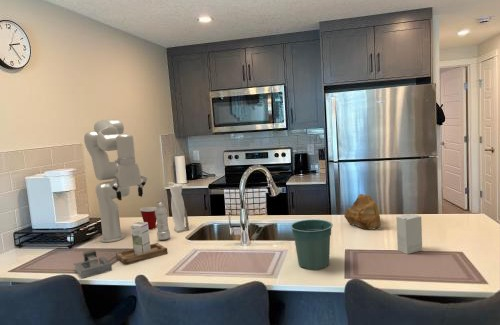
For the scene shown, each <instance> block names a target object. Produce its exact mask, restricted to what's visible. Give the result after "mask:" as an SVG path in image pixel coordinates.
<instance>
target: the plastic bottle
mask: <svg viewBox="0 0 500 325" xmlns="http://www.w3.org/2000/svg"><path fill="white" fill-rule="evenodd" d="M156 206H157V209H156V211H155V216H156V227H157V231H156V232H157V233H156V236H157V239H159V241H166V240H168V239H169V240H170V237H171V231H170V228H169V222H168V221H169V220H168V218H169V216H168V212H169V211H168V210H167V208H166V207H165V201H158V202H156Z"/></svg>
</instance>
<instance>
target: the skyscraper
mask: <svg viewBox="0 0 500 325" xmlns="http://www.w3.org/2000/svg"><path fill="white" fill-rule="evenodd" d="M170 184H173V185H170ZM168 187H169V190H170V194H171V199H170V200H171V201H170V203H171V204H170V205H171V208H170V209H171V215H172V220H173V223H174V228H173V230H174V232H176V233H183V232H188V231H190V226H189V220H188V219H189V218H188V212H187V208H185V202H184V198H183V195H182V191H183V184H182V183H175V182H168Z"/></svg>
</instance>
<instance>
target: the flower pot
mask: <svg viewBox="0 0 500 325" xmlns="http://www.w3.org/2000/svg"><path fill="white" fill-rule="evenodd" d="M333 225H334V224H333V223H332V222H331V221H328V220H325V219H314V218H313V219H312V218H311V219H301V220H298V221H295V222H293V223H291V224H290V229H291V230H292V231H291V232H292V236H293V239H294V244H295V250H296V256H297V263H298V266H299V267H300V268H302V269H304V268H305V269H307V270H321V269H325V268H326V267H328V266H329V265H330V253H331V252H330V248H331V236H332V228H333Z"/></svg>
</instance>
